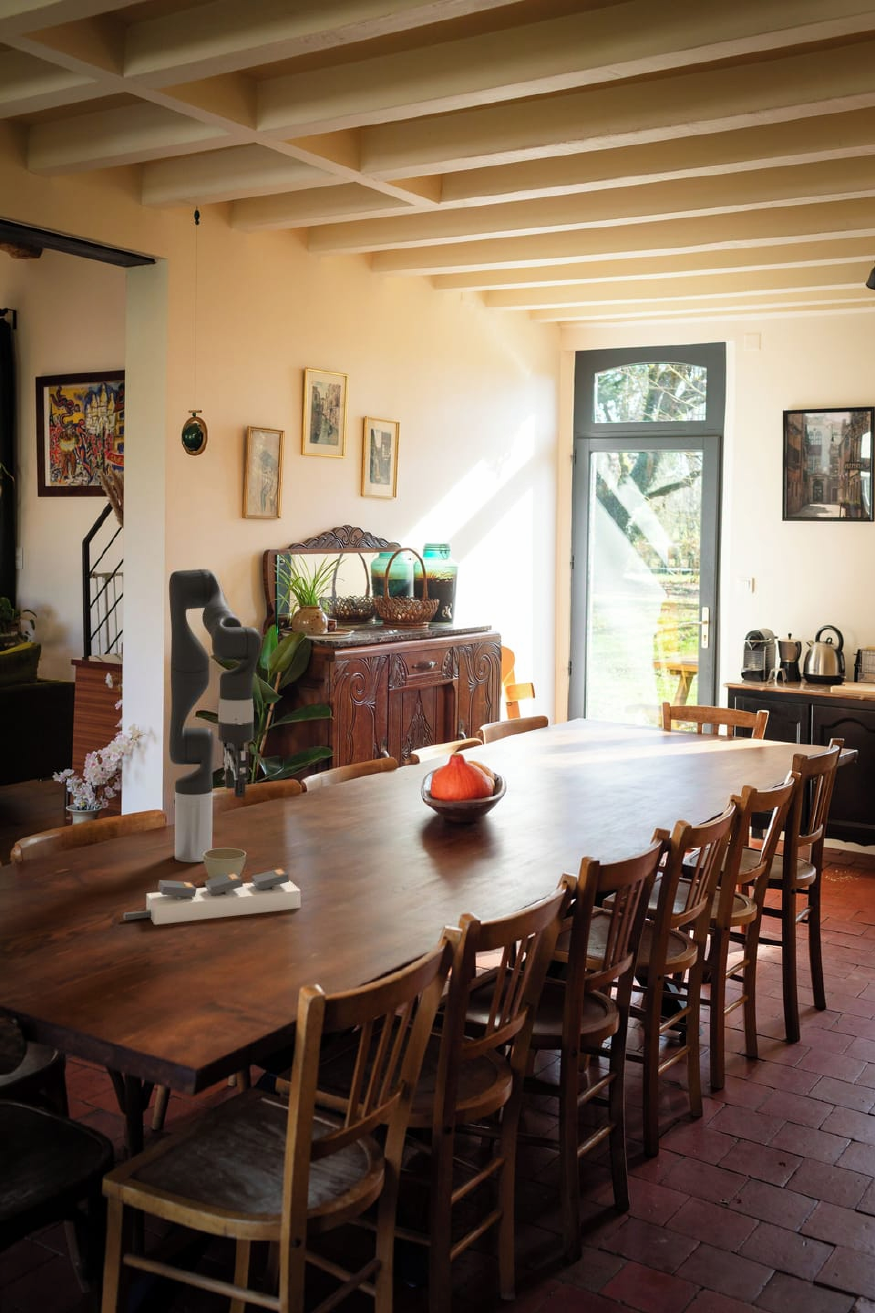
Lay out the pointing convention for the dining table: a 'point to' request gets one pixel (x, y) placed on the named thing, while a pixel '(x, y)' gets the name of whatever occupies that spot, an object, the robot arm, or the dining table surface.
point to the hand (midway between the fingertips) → (235, 792)
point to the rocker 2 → (223, 883)
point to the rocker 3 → (270, 879)
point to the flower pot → (224, 861)
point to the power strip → (218, 903)
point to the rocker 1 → (176, 888)
